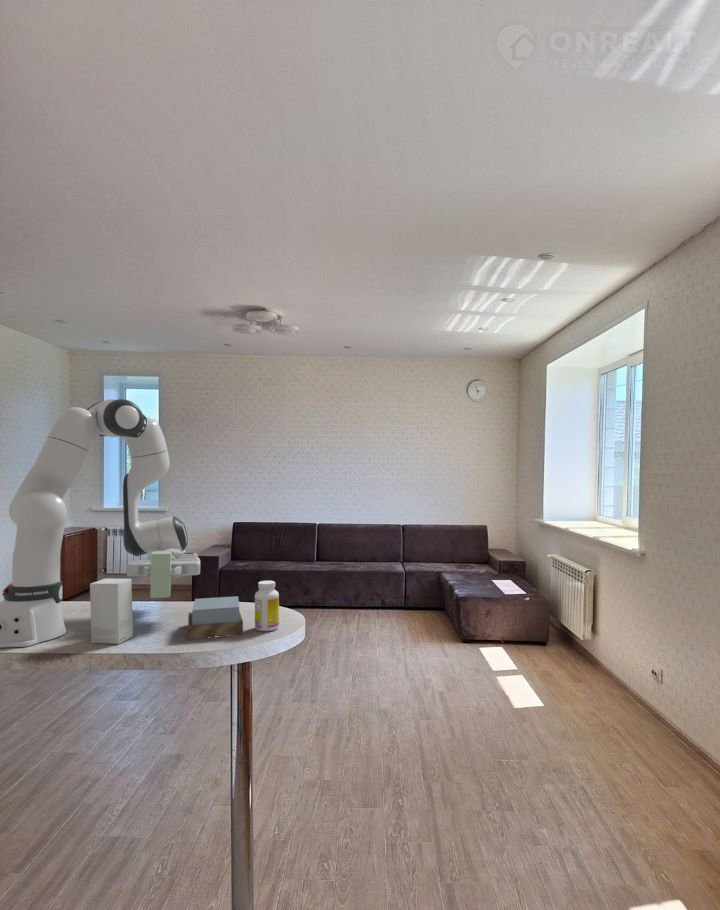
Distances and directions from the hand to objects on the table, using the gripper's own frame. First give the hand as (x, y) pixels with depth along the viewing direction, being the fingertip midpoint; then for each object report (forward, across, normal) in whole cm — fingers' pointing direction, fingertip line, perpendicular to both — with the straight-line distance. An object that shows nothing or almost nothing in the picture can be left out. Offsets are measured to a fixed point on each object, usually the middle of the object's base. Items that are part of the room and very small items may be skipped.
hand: (160, 572), depth 149 cm
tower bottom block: (+3, +15, +16) cm, 22 cm away
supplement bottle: (+5, +29, +15) cm, 34 cm away
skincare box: (+7, -11, +16) cm, 21 cm away
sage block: (-1, 0, +7) cm, 7 cm away
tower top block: (+4, +16, +12) cm, 20 cm away
